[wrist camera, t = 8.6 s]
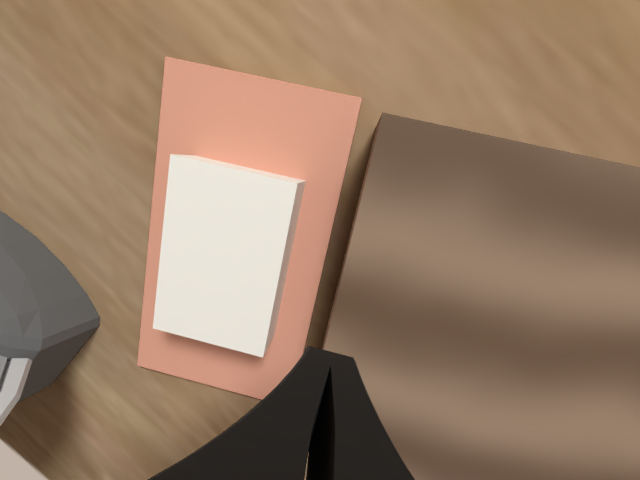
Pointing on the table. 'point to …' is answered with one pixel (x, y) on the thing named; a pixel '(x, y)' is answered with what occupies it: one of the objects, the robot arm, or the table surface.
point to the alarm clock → (36, 315)
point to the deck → (495, 305)
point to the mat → (261, 154)
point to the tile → (225, 252)
